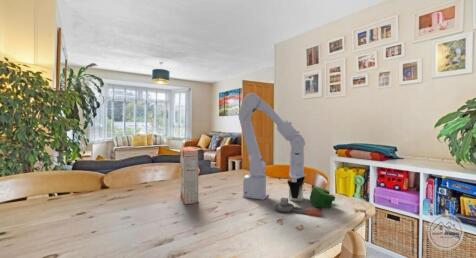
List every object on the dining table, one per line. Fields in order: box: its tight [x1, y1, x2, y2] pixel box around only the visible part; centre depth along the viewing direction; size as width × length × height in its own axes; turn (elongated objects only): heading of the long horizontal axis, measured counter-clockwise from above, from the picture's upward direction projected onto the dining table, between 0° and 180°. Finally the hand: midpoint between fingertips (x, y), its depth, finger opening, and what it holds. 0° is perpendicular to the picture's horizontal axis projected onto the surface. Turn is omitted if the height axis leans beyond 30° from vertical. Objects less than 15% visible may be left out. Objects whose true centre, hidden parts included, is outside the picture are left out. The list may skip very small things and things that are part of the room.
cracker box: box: [179, 146, 199, 205], centre depth 104 cm, size 14×6×21 cm, turn 18°
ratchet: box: [274, 197, 323, 217], centre depth 91 cm, size 16×7×4 cm, turn 68°
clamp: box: [309, 185, 336, 210], centre depth 100 cm, size 12×6×9 cm, turn 172°
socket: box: [288, 185, 304, 202], centre depth 106 cm, size 5×5×5 cm
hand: (296, 195), depth 106 cm, fingers open, 7 cm apart
